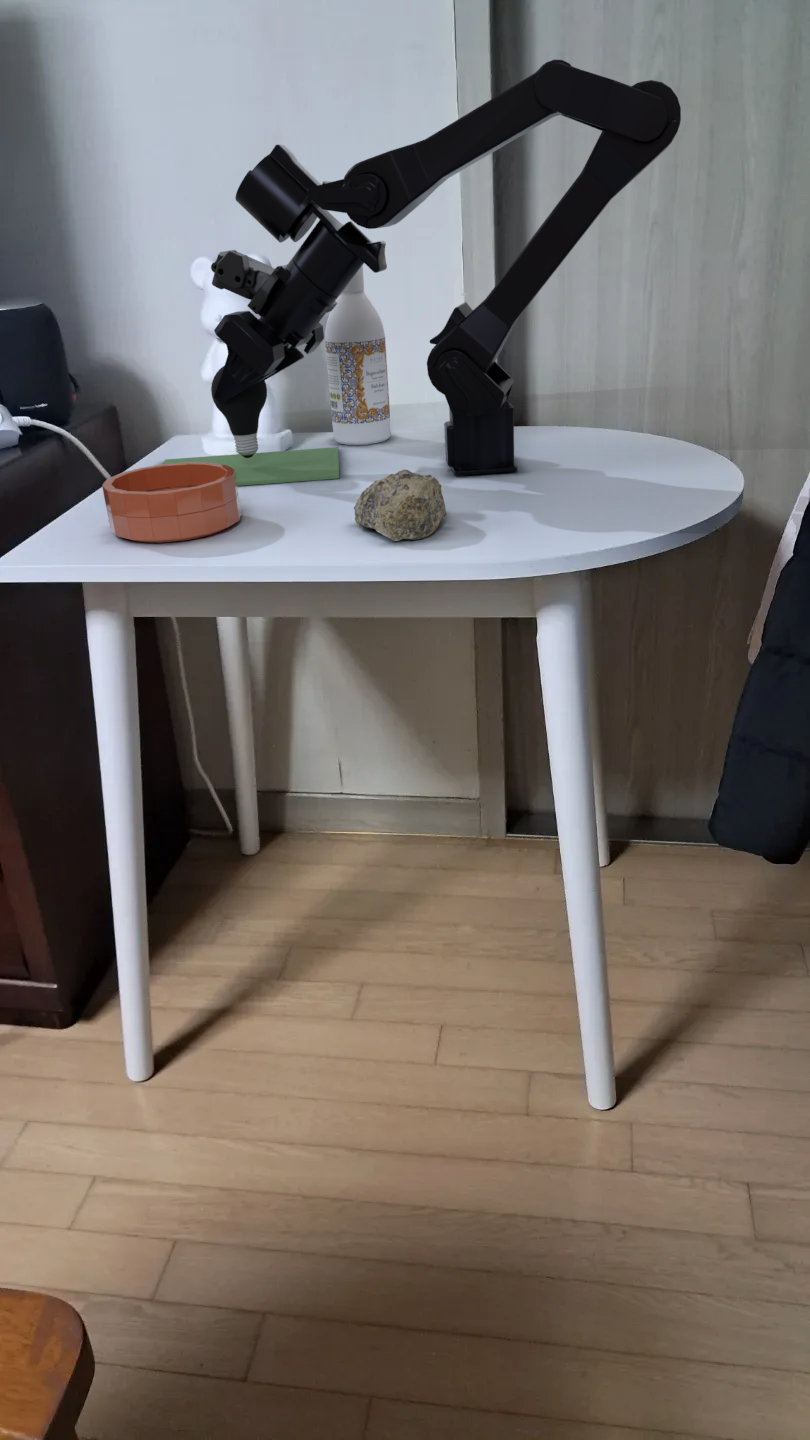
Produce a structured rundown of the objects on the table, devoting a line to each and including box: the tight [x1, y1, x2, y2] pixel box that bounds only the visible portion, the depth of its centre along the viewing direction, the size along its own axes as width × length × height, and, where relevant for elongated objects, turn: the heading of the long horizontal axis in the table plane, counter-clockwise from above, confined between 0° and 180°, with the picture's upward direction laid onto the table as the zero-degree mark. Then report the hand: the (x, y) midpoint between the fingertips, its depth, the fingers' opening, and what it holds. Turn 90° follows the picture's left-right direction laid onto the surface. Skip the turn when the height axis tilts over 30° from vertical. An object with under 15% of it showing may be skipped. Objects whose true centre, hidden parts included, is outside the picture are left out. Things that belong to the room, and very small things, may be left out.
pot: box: [101, 462, 242, 544], centre depth 93 cm, size 12×12×4 cm
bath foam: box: [324, 264, 392, 446], centre depth 120 cm, size 7×7×20 cm
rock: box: [353, 469, 447, 542], centre depth 88 cm, size 7×8×4 cm
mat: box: [162, 446, 340, 487], centre depth 113 cm, size 20×14×1 cm
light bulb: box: [210, 365, 268, 458], centre depth 110 cm, size 6×6×10 cm
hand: (227, 395), depth 110 cm, fingers closed on light bulb, 6 cm apart
